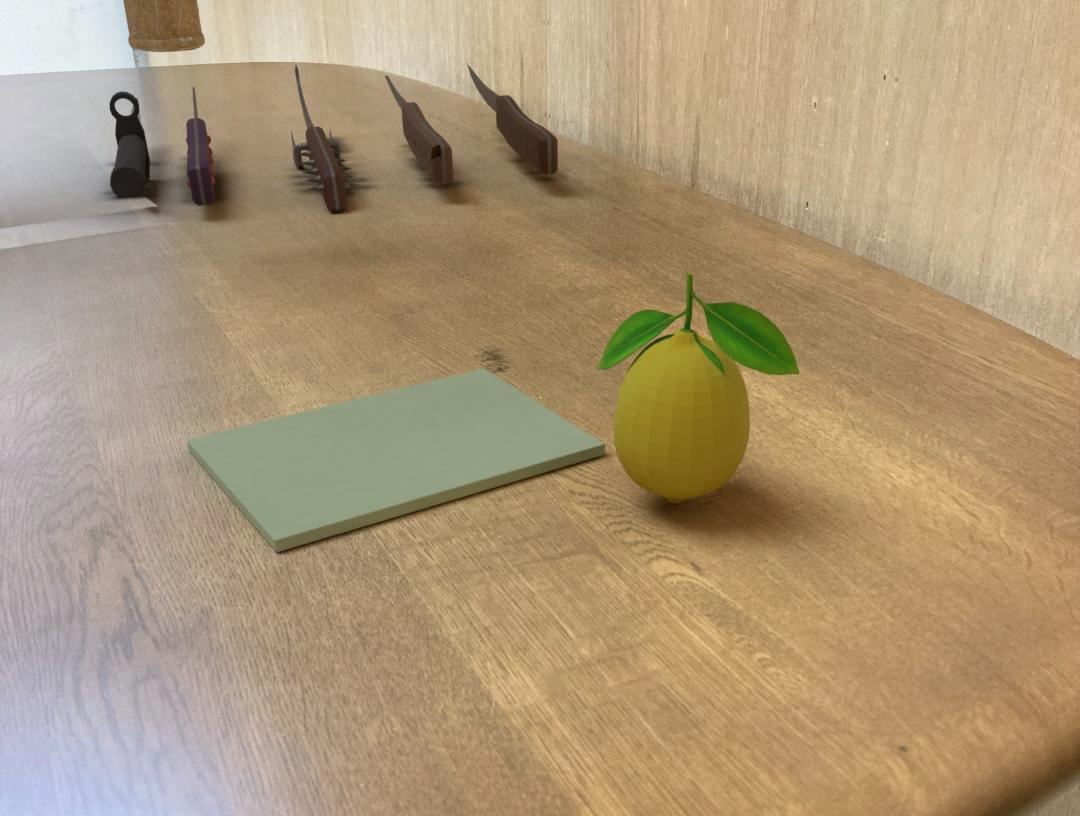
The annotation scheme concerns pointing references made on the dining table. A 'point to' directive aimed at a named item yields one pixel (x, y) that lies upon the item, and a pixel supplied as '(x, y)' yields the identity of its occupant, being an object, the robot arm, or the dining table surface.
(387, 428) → the mat
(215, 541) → the dining table surface
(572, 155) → the dining table surface
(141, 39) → the sprinkles bottle
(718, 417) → the lemon
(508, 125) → the knife set
